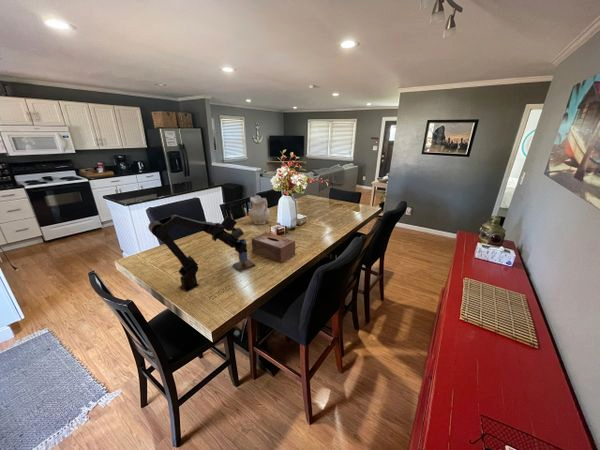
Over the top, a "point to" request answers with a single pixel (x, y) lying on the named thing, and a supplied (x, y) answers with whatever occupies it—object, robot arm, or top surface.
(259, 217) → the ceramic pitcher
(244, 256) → the blue sleeve
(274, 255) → the tissue box cover
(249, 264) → the brown plate with knob
